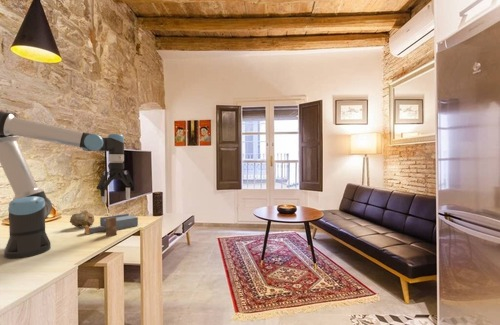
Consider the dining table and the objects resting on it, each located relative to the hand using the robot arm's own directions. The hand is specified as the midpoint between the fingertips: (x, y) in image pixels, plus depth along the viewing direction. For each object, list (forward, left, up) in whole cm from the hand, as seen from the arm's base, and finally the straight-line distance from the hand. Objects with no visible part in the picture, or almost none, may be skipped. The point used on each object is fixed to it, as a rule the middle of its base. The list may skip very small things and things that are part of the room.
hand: (116, 200), depth 138 cm
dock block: (+5, +14, -17) cm, 23 cm away
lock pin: (-6, +9, -17) cm, 20 cm away
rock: (-11, +27, -18) cm, 34 cm away
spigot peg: (-4, -4, -17) cm, 18 cm away
